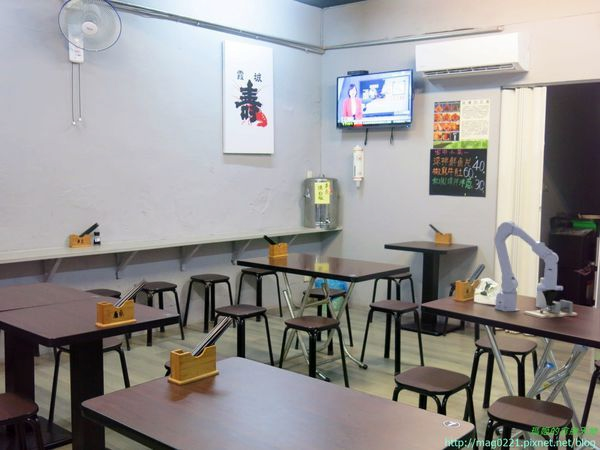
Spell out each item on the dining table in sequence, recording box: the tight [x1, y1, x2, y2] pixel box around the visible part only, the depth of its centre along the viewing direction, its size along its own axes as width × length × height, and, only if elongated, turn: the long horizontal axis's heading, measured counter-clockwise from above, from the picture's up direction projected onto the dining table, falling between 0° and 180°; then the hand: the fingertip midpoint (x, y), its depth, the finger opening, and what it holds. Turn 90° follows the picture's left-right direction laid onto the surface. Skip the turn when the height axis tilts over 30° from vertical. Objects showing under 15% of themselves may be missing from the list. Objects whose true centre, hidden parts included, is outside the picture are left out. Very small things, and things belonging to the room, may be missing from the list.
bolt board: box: [523, 299, 578, 319], centre depth 300 cm, size 23×11×6 cm, turn 112°
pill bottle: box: [535, 277, 549, 309], centre depth 317 cm, size 8×8×15 cm
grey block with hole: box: [546, 300, 560, 313], centre depth 300 cm, size 3×6×5 cm, turn 22°
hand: (549, 305), depth 299 cm, fingers closed
